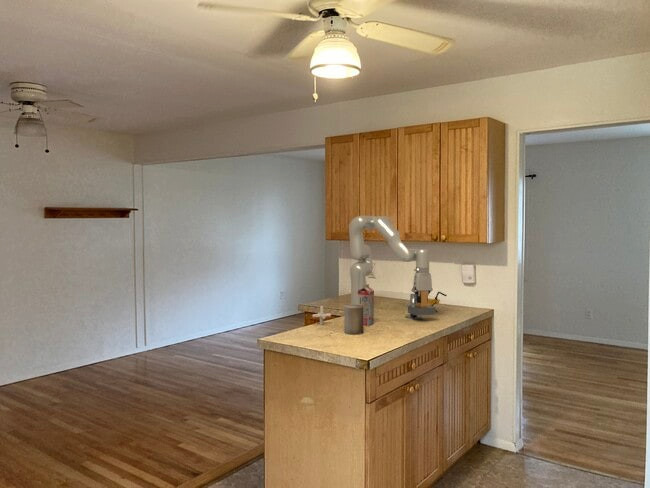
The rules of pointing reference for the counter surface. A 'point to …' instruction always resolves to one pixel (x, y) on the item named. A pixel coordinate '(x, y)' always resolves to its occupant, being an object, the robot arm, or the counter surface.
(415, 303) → the block with square hole
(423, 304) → the wooden block
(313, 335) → the counter surface
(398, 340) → the counter surface
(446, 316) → the counter surface
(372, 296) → the juice carton
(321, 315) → the pipe connector
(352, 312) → the pillar candle
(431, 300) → the robot dog
